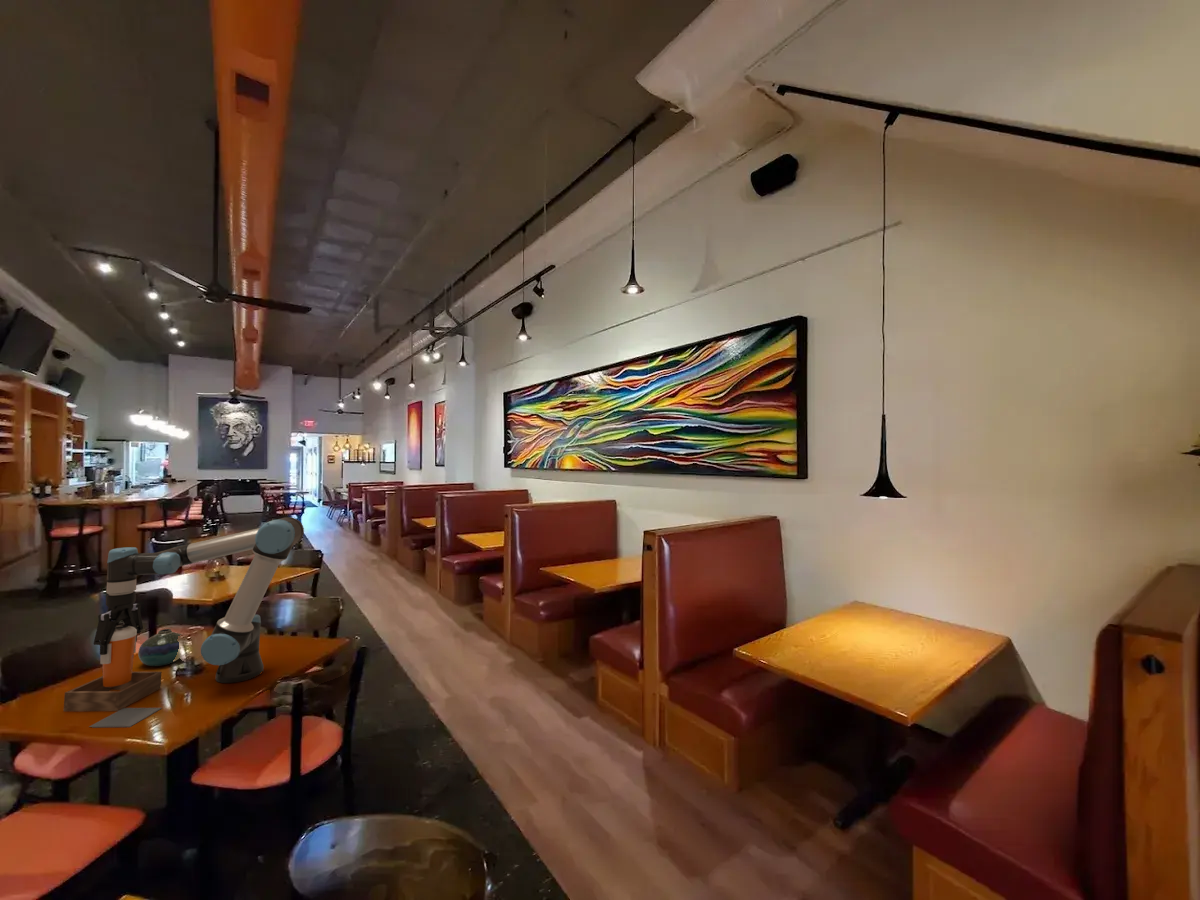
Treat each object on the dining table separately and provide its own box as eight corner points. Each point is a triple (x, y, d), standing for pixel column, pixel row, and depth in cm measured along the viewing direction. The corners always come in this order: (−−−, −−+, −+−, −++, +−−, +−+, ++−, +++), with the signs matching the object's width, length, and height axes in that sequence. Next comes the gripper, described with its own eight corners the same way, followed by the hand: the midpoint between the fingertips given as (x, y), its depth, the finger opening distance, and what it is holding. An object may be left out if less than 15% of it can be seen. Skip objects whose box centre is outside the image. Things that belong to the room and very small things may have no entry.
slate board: (161, 708, 166) (161, 707, 166) (129, 727, 154) (129, 726, 154) (123, 708, 165) (123, 707, 165) (88, 727, 153) (89, 726, 153)
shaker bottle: (112, 689, 167) (115, 629, 167) (92, 687, 168) (94, 627, 169) (141, 678, 175) (144, 621, 176) (122, 676, 177) (124, 619, 178)
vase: (140, 661, 205) (142, 628, 205) (188, 653, 214) (190, 622, 214) (134, 673, 192) (136, 639, 193) (185, 665, 201) (187, 632, 202)
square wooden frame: (160, 688, 181) (161, 671, 181) (118, 711, 164) (119, 692, 164) (111, 688, 180) (112, 671, 180) (63, 711, 163) (64, 692, 163)
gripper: (136, 585, 184) (134, 646, 183) (79, 601, 162) (76, 670, 161) (158, 585, 184) (155, 646, 183) (103, 600, 162) (100, 670, 162)
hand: (118, 657), depth 172 cm, fingers closed on shaker bottle, 9 cm apart
